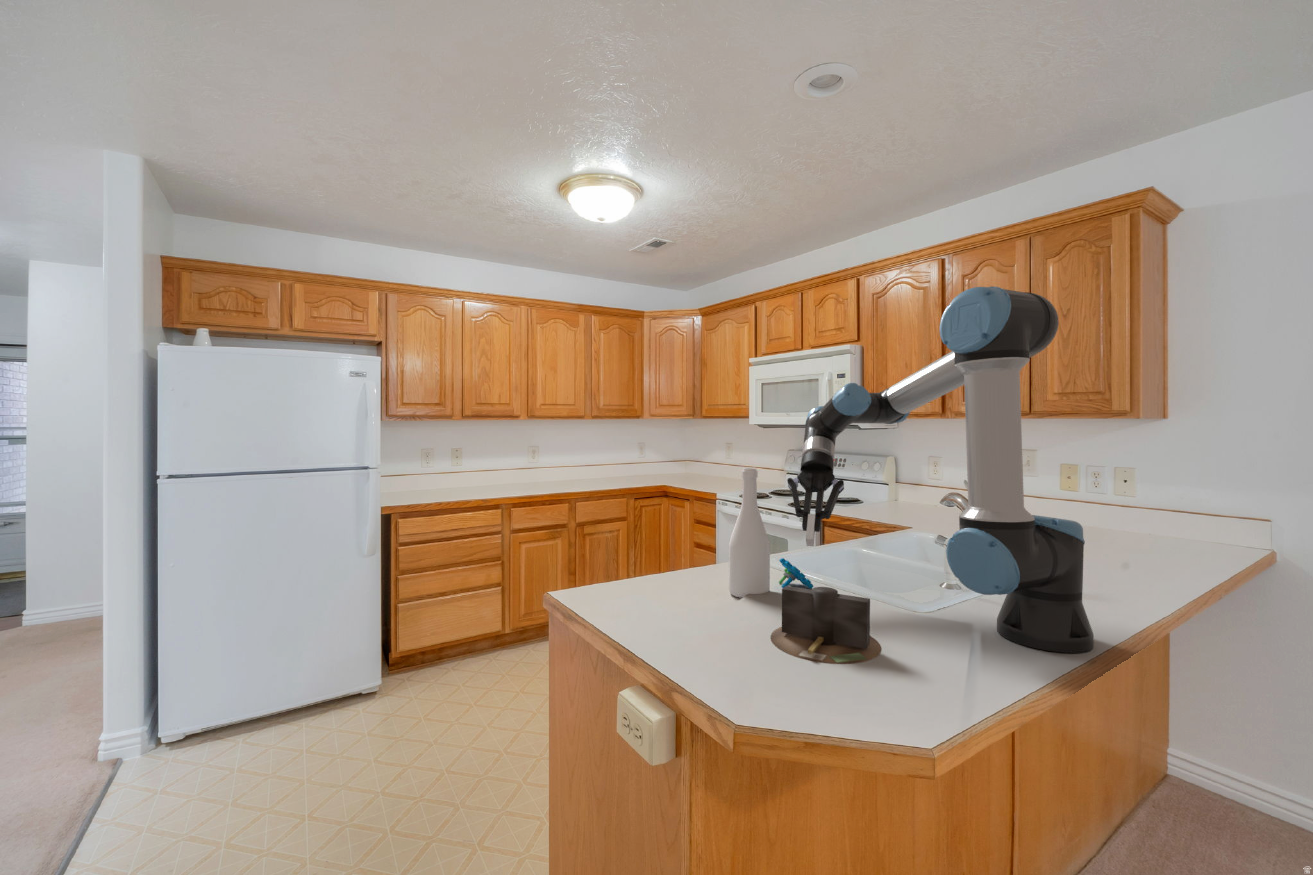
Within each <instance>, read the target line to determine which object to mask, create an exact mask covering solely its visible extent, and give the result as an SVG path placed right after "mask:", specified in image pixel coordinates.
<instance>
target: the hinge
mask: <svg viewBox="0 0 1313 875" xmlns="http://www.w3.org/2000/svg"><path fill="white" fill-rule="evenodd" d="M870 625H871V598H868V597H862V596H861V597H860V596H855V595H847V594H843V593H842V594H841V593H839V592H838V590H837V589H835V588H832V587H828V586H816V587H813V588H812V589H811V588H810V589H809V588H803V587H797V586H790V585H788V586H785V587H784V588H782V589H781V627H782V632H784V633H789V634H794V635H799V636H804V637H809V638H812V641H814V643H813V644H812V645H811V647H810V648H809V649H808V653H809V654H813V653H814V652H815V651H816V649H817V648H818V647H819V646H820V644H822V645H833V644H836V643H840V644H845V645H850V646H855V647H860V648H865V649H867V648H868V646H869V644H870V636H871V635H870V634H871V633H870V632H871V626H870Z"/></svg>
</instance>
